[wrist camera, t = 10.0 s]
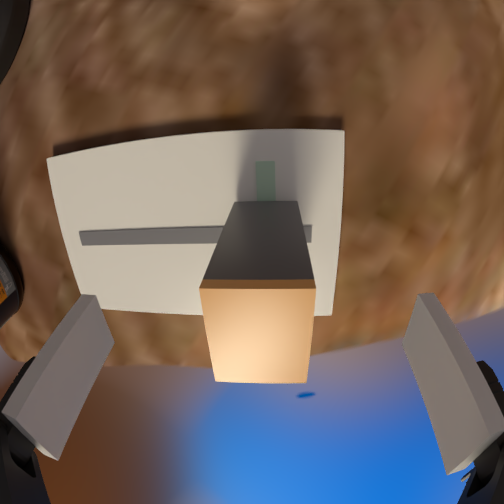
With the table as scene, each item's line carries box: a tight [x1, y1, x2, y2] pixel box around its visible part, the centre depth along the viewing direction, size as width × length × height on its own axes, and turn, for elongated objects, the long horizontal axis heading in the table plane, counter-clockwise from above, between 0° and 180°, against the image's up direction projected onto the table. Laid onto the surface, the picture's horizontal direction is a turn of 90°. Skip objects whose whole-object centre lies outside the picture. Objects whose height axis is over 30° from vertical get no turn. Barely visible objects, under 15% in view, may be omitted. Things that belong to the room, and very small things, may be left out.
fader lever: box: [199, 201, 316, 383], centre depth 16 cm, size 5×4×10 cm
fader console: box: [47, 129, 344, 316], centre depth 22 cm, size 14×22×1 cm, turn 92°
